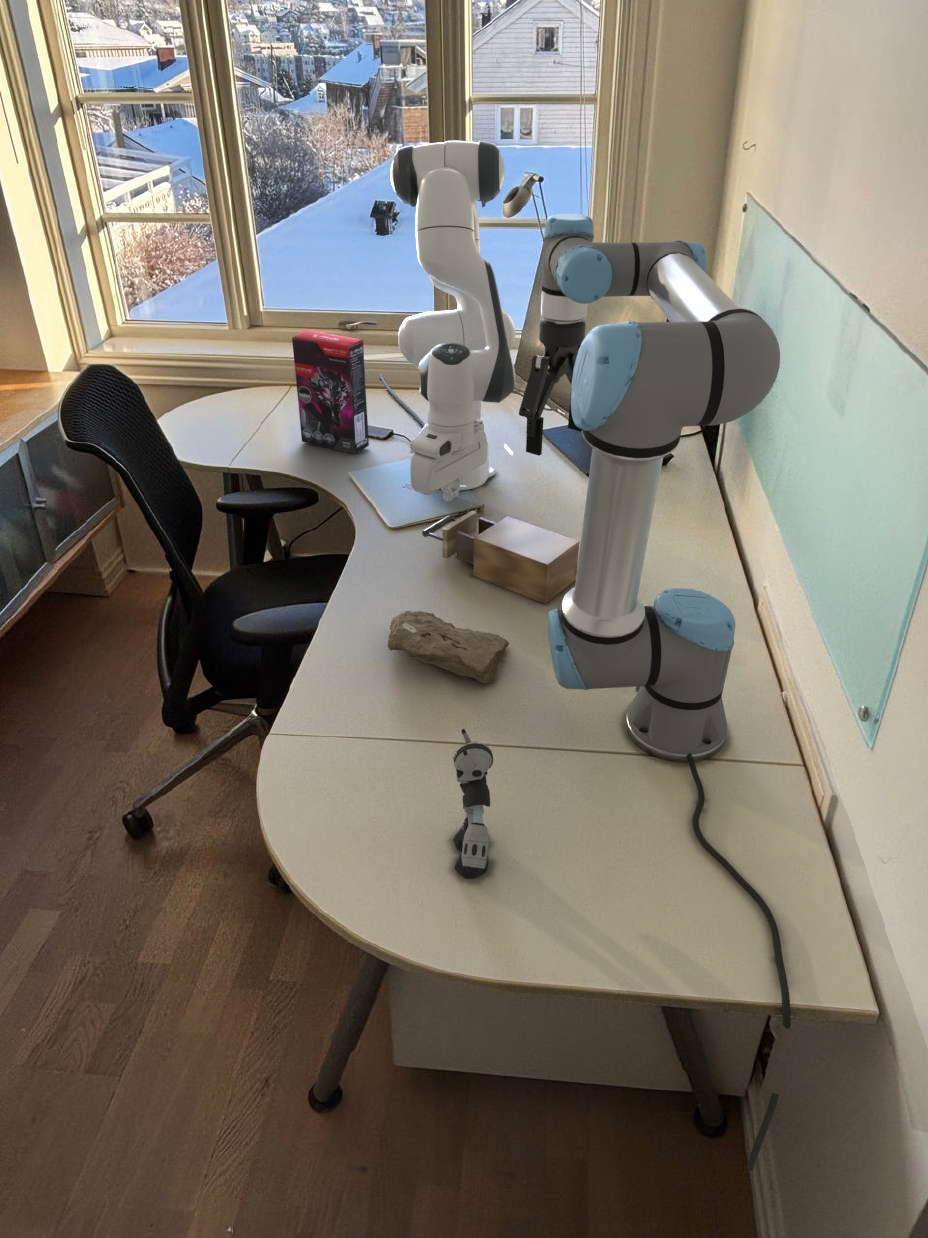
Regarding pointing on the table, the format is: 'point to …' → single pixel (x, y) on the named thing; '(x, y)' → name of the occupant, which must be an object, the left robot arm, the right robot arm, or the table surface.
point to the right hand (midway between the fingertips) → (555, 441)
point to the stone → (447, 645)
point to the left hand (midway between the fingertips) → (450, 498)
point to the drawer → (459, 535)
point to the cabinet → (526, 559)
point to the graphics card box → (331, 390)
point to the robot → (473, 807)
